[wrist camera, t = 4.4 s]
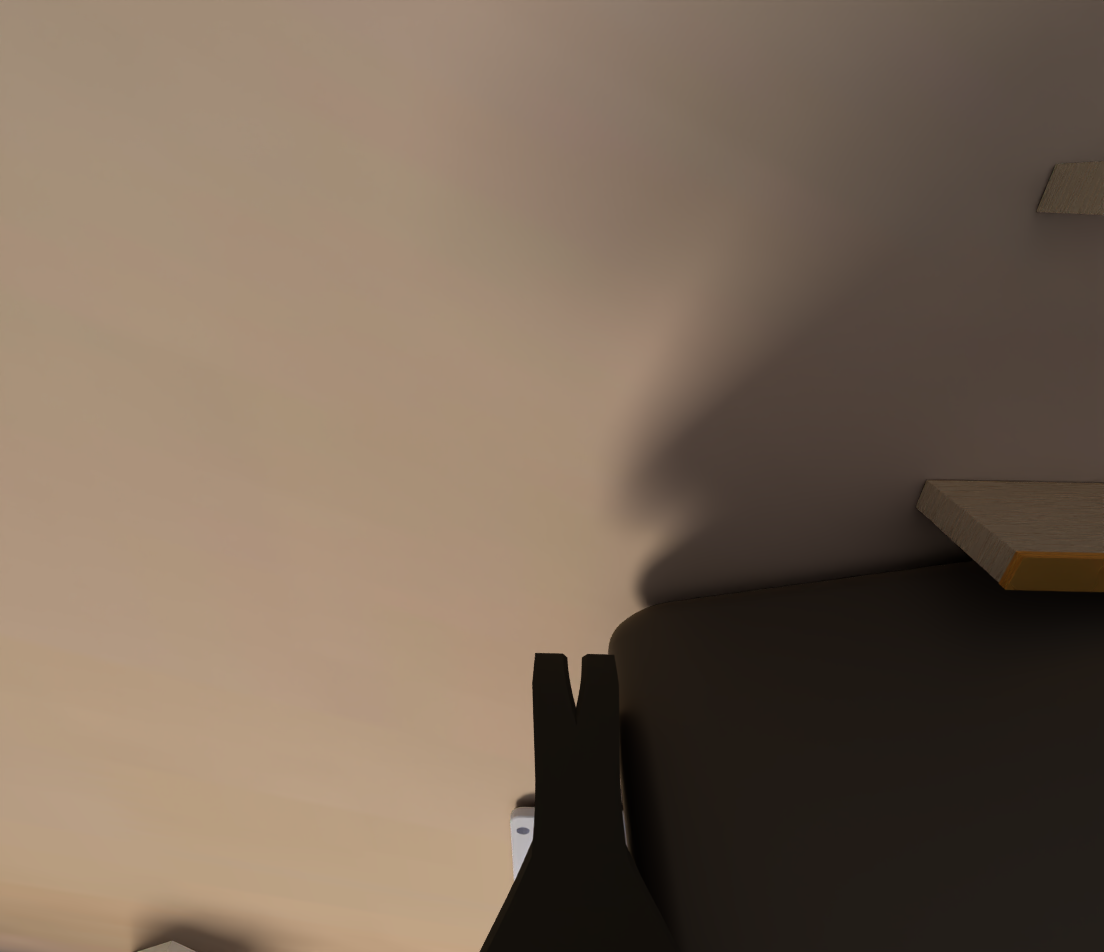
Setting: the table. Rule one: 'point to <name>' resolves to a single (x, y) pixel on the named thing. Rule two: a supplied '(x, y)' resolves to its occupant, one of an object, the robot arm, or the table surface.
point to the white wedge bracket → (168, 948)
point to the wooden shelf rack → (1032, 507)
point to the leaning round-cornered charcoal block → (869, 765)
